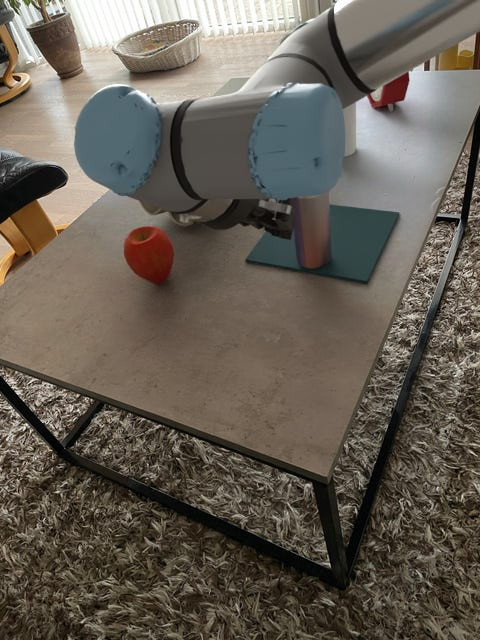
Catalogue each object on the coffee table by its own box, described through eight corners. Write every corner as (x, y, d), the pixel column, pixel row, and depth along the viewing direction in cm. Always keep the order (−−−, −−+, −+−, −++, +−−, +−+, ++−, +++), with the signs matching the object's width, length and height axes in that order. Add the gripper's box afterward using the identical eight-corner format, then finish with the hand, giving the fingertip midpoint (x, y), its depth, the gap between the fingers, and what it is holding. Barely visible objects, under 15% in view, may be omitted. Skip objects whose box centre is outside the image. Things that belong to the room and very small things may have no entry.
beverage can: (290, 265, 83) (280, 187, 73) (307, 246, 86) (300, 168, 76) (321, 274, 80) (316, 194, 70) (338, 254, 83) (335, 174, 73)
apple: (127, 286, 88) (105, 237, 80) (161, 260, 92) (144, 211, 84) (157, 303, 83) (137, 252, 76) (192, 275, 87) (176, 224, 79)
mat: (399, 214, 89) (399, 212, 89) (367, 284, 78) (367, 281, 77) (289, 202, 99) (288, 199, 98) (245, 262, 87) (244, 259, 87)
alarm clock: (361, 98, 129) (361, 12, 115) (392, 90, 129) (396, 3, 115) (383, 118, 118) (386, 26, 104) (417, 110, 118) (425, 16, 104)
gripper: (148, 215, 52) (243, 248, 73) (257, 232, 46) (325, 262, 68) (162, 145, 51) (253, 199, 73) (273, 153, 46) (337, 209, 67)
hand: (288, 229), depth 70 cm, fingers closed
